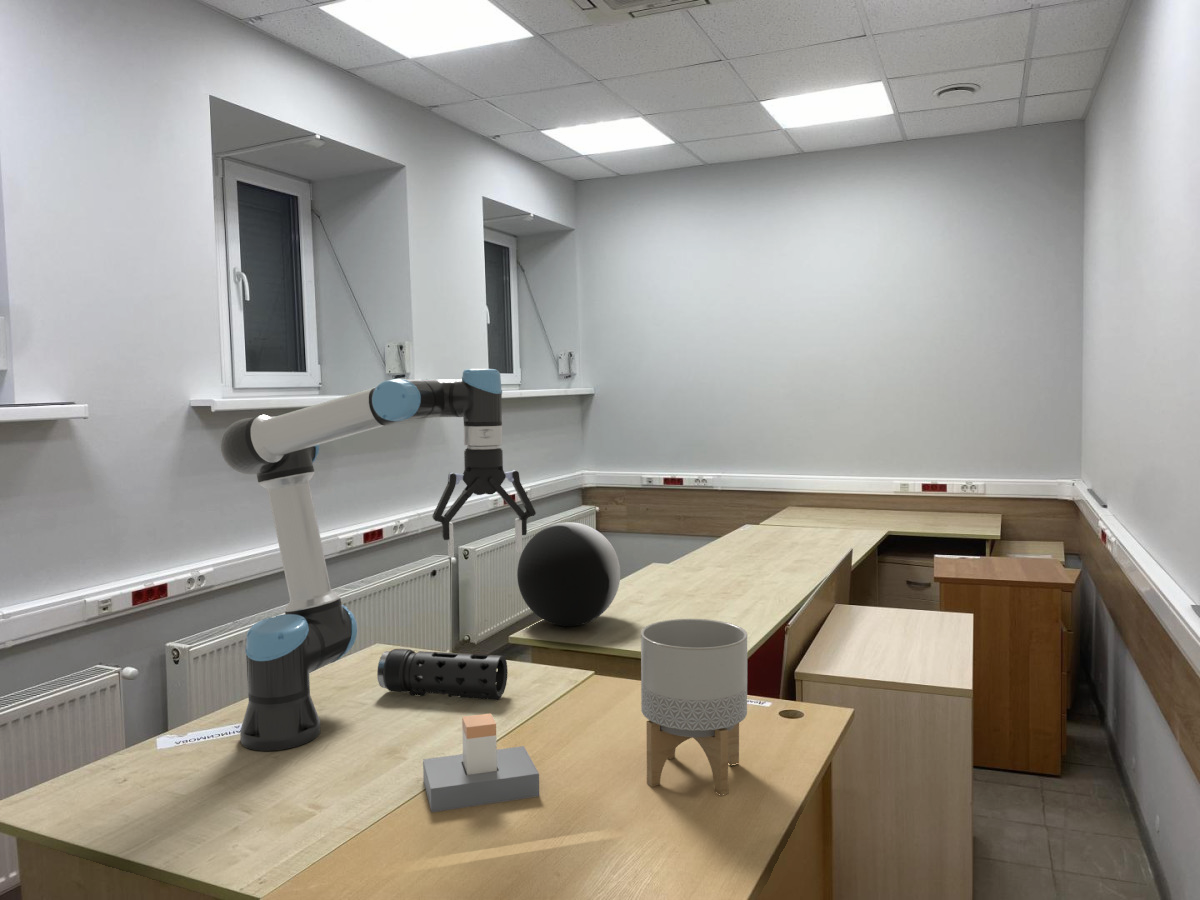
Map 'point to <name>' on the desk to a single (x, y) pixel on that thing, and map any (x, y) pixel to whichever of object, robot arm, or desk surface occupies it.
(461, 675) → the muzzle brake
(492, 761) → the plug
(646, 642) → the planter
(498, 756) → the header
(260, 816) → the desk surface
